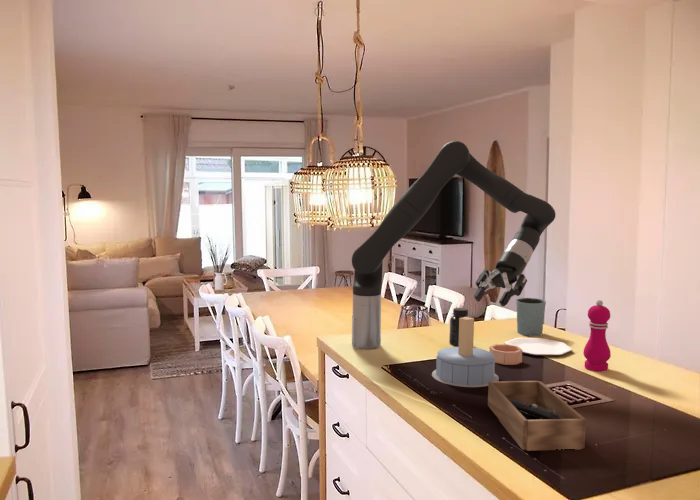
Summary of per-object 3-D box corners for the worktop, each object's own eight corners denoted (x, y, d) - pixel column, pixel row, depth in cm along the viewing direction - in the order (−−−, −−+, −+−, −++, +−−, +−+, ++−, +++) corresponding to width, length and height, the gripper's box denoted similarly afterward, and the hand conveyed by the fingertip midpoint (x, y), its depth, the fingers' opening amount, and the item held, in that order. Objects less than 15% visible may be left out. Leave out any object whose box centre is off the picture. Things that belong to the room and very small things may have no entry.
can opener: (568, 438, 120) (570, 412, 120) (543, 444, 117) (544, 418, 117) (510, 409, 136) (511, 386, 135) (486, 414, 133) (487, 390, 132)
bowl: (495, 365, 169) (496, 352, 168) (486, 357, 177) (486, 344, 177) (525, 365, 169) (525, 352, 169) (514, 356, 178) (515, 344, 178)
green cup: (542, 330, 211) (543, 298, 210) (546, 337, 202) (548, 303, 200) (513, 329, 213) (514, 297, 212) (516, 336, 203) (517, 302, 202)
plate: (525, 338, 201) (525, 334, 201) (580, 350, 187) (580, 345, 187) (494, 349, 187) (494, 345, 187) (552, 362, 173) (552, 358, 173)
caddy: (523, 450, 114) (524, 421, 113) (487, 406, 137) (488, 381, 137) (585, 449, 115) (586, 420, 114) (539, 405, 138) (540, 380, 138)
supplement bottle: (472, 347, 188) (473, 311, 187) (451, 347, 188) (451, 311, 187) (468, 342, 195) (469, 307, 194) (447, 341, 195) (448, 306, 194)
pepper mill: (608, 366, 169) (612, 298, 167) (611, 373, 162) (614, 303, 160) (582, 363, 172) (585, 297, 169) (583, 370, 165) (586, 301, 163)
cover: (468, 389, 148) (470, 327, 146) (425, 374, 160) (426, 317, 158) (505, 377, 157) (507, 319, 156) (461, 364, 169) (463, 310, 167)
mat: (439, 389, 149) (439, 387, 149) (426, 367, 167) (426, 366, 167) (508, 387, 150) (508, 386, 150) (487, 366, 168) (487, 365, 168)
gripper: (489, 248, 172) (463, 290, 166) (531, 252, 161) (504, 297, 155) (499, 264, 176) (474, 306, 170) (541, 269, 165) (515, 314, 159)
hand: (488, 302), depth 162 cm, fingers open, 8 cm apart
